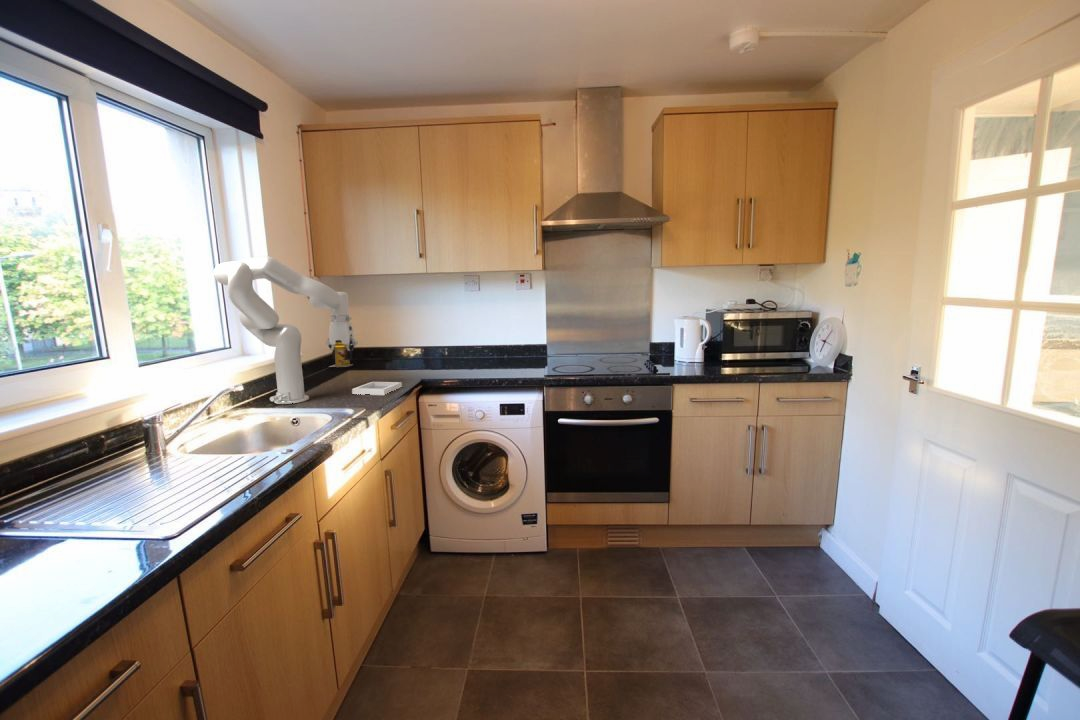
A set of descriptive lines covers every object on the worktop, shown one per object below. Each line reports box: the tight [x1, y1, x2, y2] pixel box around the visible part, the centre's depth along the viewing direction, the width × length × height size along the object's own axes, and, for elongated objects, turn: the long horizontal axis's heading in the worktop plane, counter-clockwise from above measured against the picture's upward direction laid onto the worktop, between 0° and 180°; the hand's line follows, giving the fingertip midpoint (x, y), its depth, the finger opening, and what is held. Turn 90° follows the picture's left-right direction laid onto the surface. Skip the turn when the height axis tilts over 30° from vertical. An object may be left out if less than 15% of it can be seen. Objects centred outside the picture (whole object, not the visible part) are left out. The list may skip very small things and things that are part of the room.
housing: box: [351, 381, 403, 396], centre depth 206 cm, size 16×15×2 cm
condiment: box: [328, 340, 354, 368], centre depth 209 cm, size 7×8×12 cm
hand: (342, 359), depth 209 cm, fingers closed on condiment, 6 cm apart
